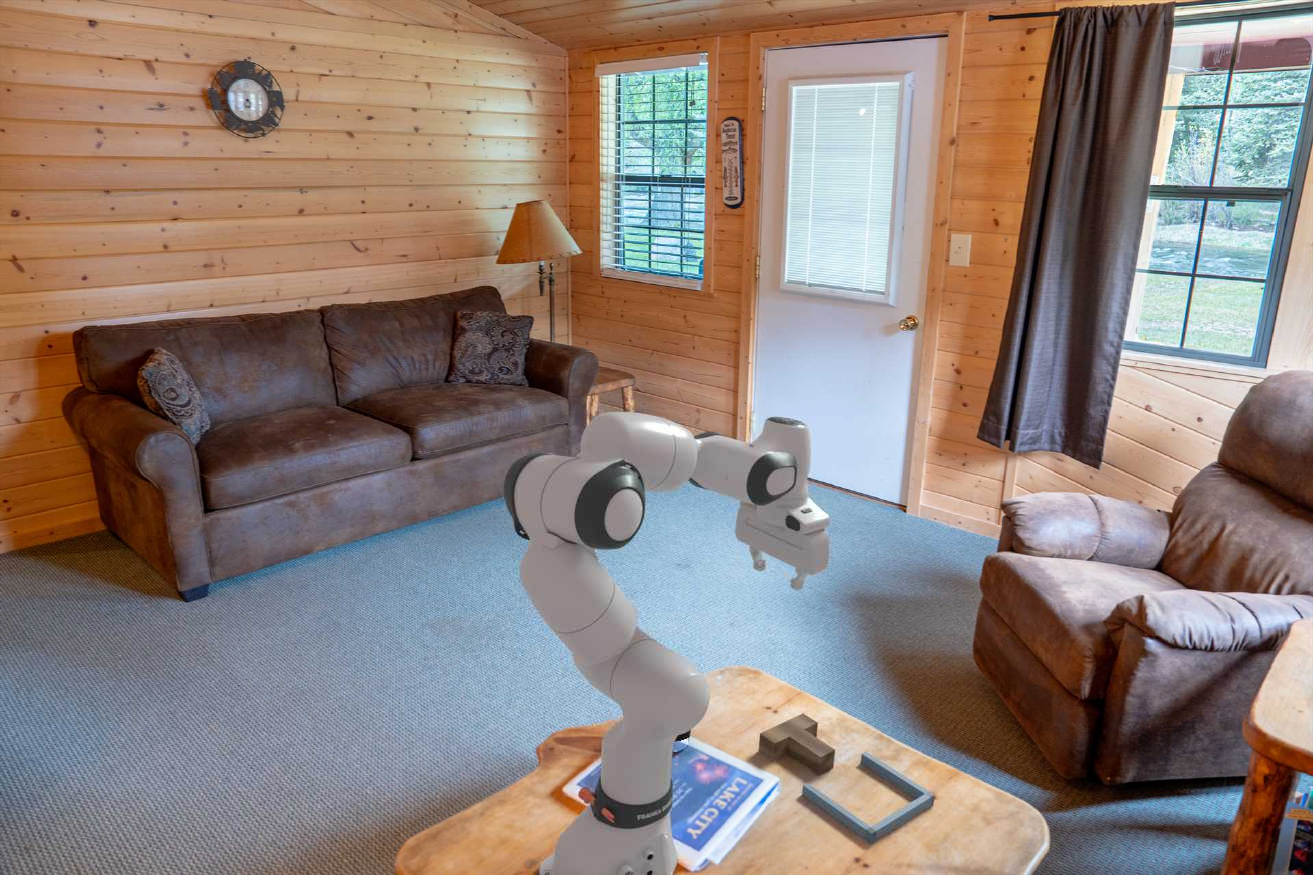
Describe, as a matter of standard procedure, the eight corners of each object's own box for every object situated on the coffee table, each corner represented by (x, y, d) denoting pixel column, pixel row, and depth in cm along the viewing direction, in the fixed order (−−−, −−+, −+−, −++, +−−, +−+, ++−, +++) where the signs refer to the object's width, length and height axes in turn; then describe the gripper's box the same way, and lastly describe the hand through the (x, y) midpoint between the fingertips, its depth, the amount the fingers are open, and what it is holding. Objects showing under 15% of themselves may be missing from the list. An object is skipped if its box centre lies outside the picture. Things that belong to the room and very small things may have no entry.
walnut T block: (804, 783, 170) (805, 764, 169) (758, 751, 179) (759, 733, 178) (847, 760, 177) (849, 742, 176) (801, 730, 186) (803, 713, 185)
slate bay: (870, 843, 155) (871, 833, 154) (801, 794, 167) (802, 784, 166) (933, 804, 165) (934, 794, 165) (864, 760, 177) (865, 751, 177)
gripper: (728, 493, 168) (725, 563, 172) (811, 528, 152) (806, 604, 156) (754, 486, 172) (750, 555, 176) (837, 520, 156) (831, 594, 160)
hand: (777, 578), depth 166 cm, fingers open, 8 cm apart
